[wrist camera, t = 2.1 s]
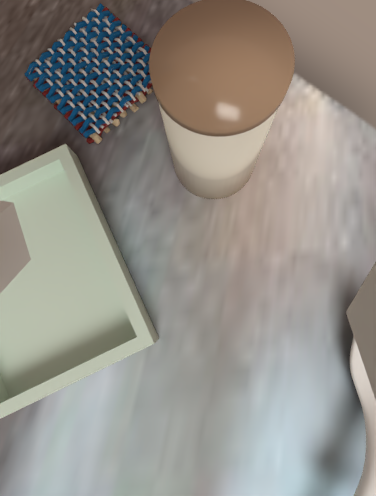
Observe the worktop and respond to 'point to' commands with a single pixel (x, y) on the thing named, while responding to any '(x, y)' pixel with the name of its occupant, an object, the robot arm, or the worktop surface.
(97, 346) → the tray
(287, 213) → the worktop surface
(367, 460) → the spoon
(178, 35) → the canister
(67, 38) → the woven mat
